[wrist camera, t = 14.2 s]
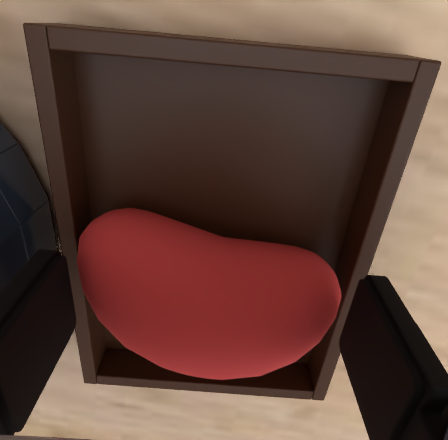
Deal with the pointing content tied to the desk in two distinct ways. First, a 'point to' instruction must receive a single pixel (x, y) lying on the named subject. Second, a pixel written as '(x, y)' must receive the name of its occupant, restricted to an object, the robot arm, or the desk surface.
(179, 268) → the red kidney bean
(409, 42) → the desk surface
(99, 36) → the tray
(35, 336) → the robot arm
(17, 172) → the bowl
